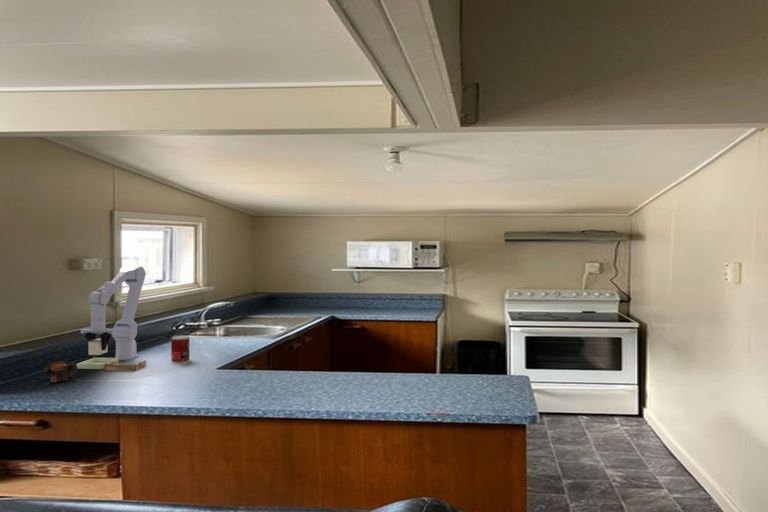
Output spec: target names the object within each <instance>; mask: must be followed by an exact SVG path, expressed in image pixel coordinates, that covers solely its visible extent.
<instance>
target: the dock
mask: <svg viewBox="0 0 768 512" xmlns="http://www.w3.org/2000/svg"><path fill="white" fill-rule="evenodd" d="M146 366H147V360H146V359H143V360H141V361H138V362H136V363H120V360H115V361H112V362H110V363H107V364H105V368H104V371H112V372H113V371H116V372H117V371H119V372H121V371H122V372H123V371H124V372H125V371H128V372H130V371H131V372H136V371H137V370H140V369H142V368H144V367H146Z"/></svg>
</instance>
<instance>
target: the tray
mask: <svg viewBox="0 0 768 512" xmlns="http://www.w3.org/2000/svg"><path fill="white" fill-rule="evenodd" d="M115 360H119V358H116V357H93V358H91V359H87V360H84V361H81V362H79V363H76V365H77V367H78V369H77V370H79V369H80V370H103V369H105V364H107V363H110V362H112V361H115ZM119 361H120V360H119Z"/></svg>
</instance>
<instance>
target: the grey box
mask: <svg viewBox="0 0 768 512" xmlns="http://www.w3.org/2000/svg"><path fill="white" fill-rule="evenodd" d="M87 343H88V346H87V348H88V349H87V350H88V356H100V355H103V354H106V353H108V352H109V351H108V350H109V348H108V347H109V346H108V343H109V342H108V343H107V347H106V350H102V343H101V337H100V338H96V339H94V340H90V341H87Z"/></svg>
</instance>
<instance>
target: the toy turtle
mask: <svg viewBox="0 0 768 512" xmlns="http://www.w3.org/2000/svg"><path fill="white" fill-rule="evenodd" d="M43 368H44V369H43V372H42V375H47V376H51V375H52V376H51V377H50V378H49V380H50V382H54V383H57V382H64V381H66V380H67V381H68V379H70V378H71V377H72V376H73V375H75V373H76V372H77V371H78V370H79V369H78V367H77V363H69V364H67V363H66V362H65V361H56V362H52V363H48V364H46V365H45V366H44V367H43ZM72 368H73V369H72ZM71 370H72V371H71Z"/></svg>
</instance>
